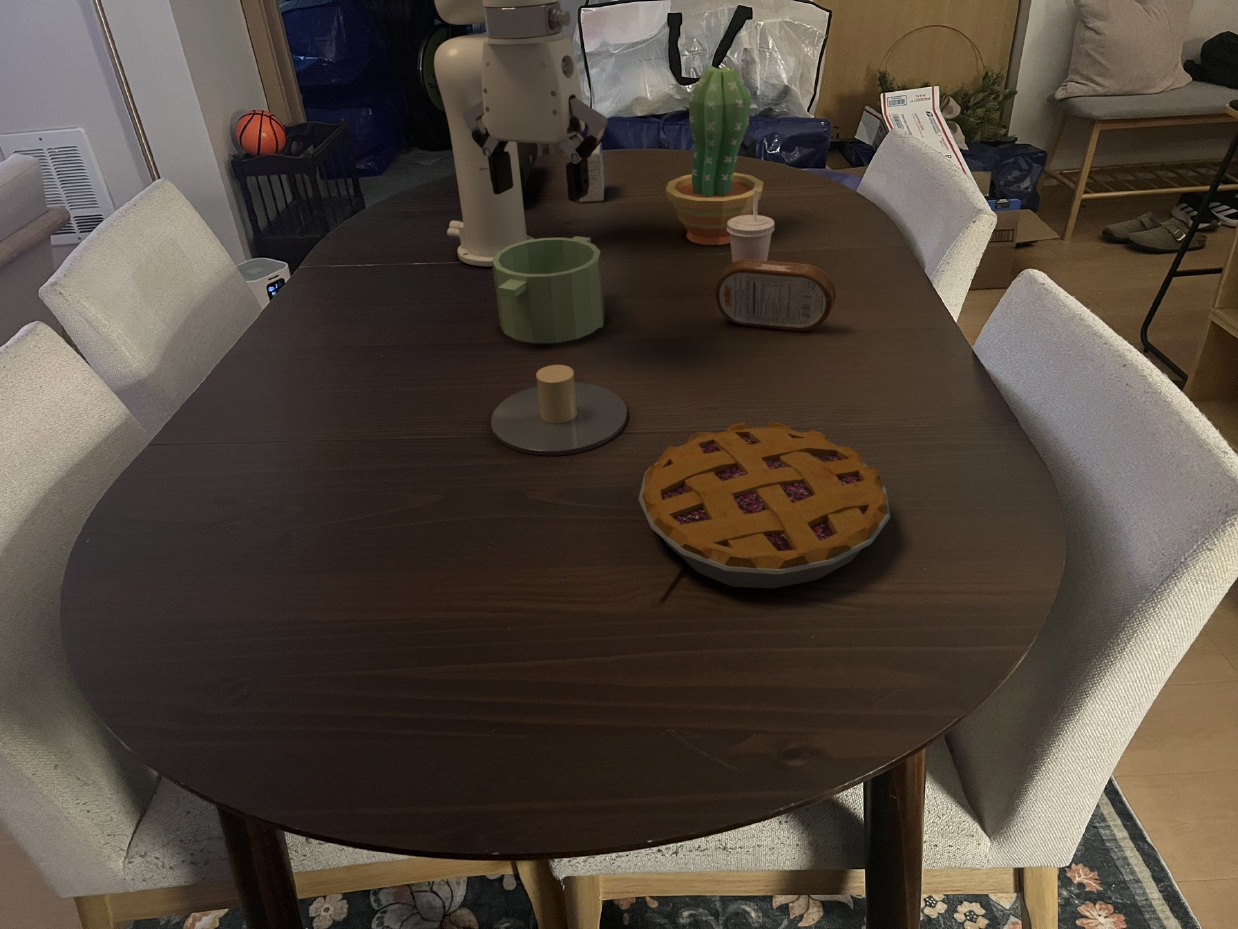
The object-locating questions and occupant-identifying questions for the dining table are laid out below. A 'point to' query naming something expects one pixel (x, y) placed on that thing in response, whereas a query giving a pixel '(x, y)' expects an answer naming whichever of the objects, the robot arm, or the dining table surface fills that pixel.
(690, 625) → the dining table surface
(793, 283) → the tin
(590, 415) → the lid
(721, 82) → the potted cactus
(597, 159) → the medicine box
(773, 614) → the dining table surface
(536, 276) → the pot
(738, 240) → the smoothie
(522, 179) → the portable speaker
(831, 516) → the pie
